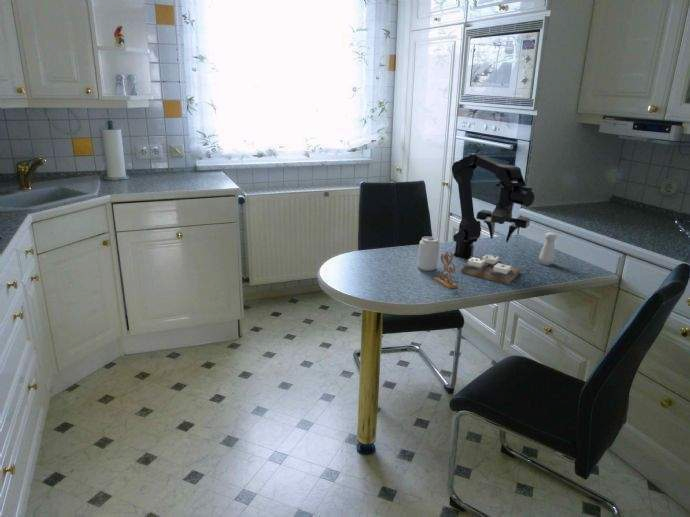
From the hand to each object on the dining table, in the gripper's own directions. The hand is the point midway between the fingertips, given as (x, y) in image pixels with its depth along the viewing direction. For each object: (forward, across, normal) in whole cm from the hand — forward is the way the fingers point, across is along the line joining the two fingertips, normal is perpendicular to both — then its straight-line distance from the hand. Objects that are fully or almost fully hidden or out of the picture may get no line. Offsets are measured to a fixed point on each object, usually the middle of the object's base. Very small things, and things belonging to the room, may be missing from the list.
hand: (499, 240), depth 195 cm
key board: (+12, 0, -5) cm, 13 cm away
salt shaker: (+12, +14, +23) cm, 30 cm away
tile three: (+9, -5, -8) cm, 13 cm away
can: (+12, -21, -17) cm, 30 cm away
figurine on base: (+12, -9, -27) cm, 31 cm away
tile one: (+9, +5, -8) cm, 13 cm away
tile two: (+9, -2, -1) cm, 9 cm away
